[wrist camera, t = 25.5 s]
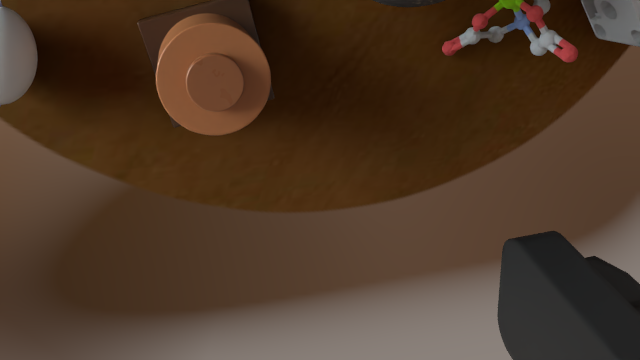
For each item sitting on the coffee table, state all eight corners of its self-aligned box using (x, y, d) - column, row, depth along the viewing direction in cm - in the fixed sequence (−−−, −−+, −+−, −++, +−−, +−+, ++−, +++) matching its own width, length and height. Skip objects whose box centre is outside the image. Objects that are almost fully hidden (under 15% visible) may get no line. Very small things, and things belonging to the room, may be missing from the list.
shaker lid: (143, 28, 35) (138, 41, 29) (243, 1, 36) (255, 10, 30) (176, 123, 37) (177, 153, 32) (269, 97, 38) (285, 121, 32)
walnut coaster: (138, 19, 36) (136, 22, 35) (244, -9, 37) (246, -7, 35) (173, 121, 39) (173, 128, 37) (271, 93, 39) (275, 98, 38)
